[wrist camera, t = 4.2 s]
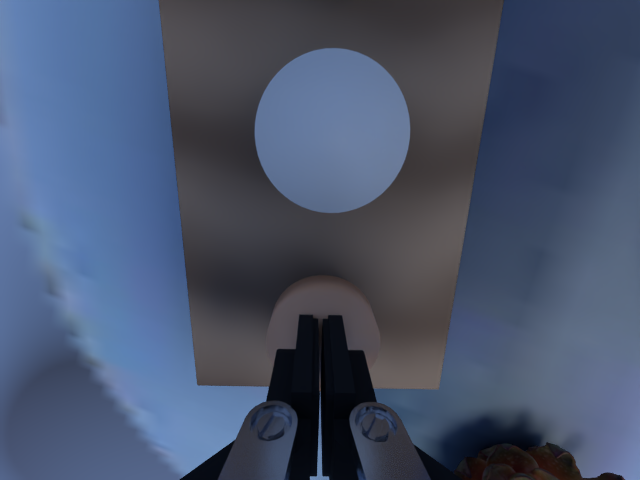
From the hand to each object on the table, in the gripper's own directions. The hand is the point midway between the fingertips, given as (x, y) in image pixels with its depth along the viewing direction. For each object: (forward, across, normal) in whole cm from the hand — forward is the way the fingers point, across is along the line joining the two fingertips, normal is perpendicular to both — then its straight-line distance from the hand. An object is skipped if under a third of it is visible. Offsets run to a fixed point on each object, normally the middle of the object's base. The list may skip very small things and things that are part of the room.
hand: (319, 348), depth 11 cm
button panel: (+5, 0, -8) cm, 9 cm away
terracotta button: (+3, 0, 0) cm, 3 cm away
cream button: (+2, 0, -8) cm, 8 cm away
